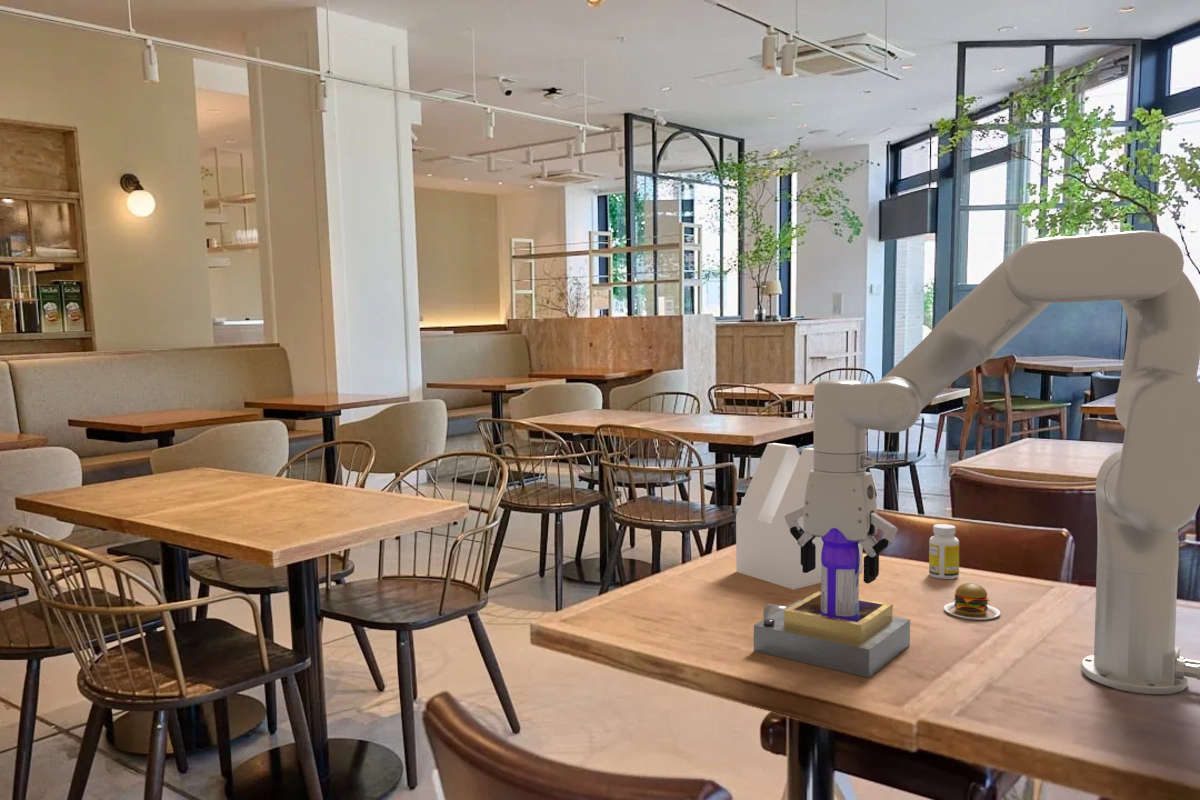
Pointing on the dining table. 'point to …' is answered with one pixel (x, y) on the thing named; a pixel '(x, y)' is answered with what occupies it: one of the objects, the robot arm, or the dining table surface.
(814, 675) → the dining table surface
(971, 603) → the hamburger
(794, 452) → the white notched block
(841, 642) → the grey brass fixture
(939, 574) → the supplement bottle
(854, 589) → the bottle
